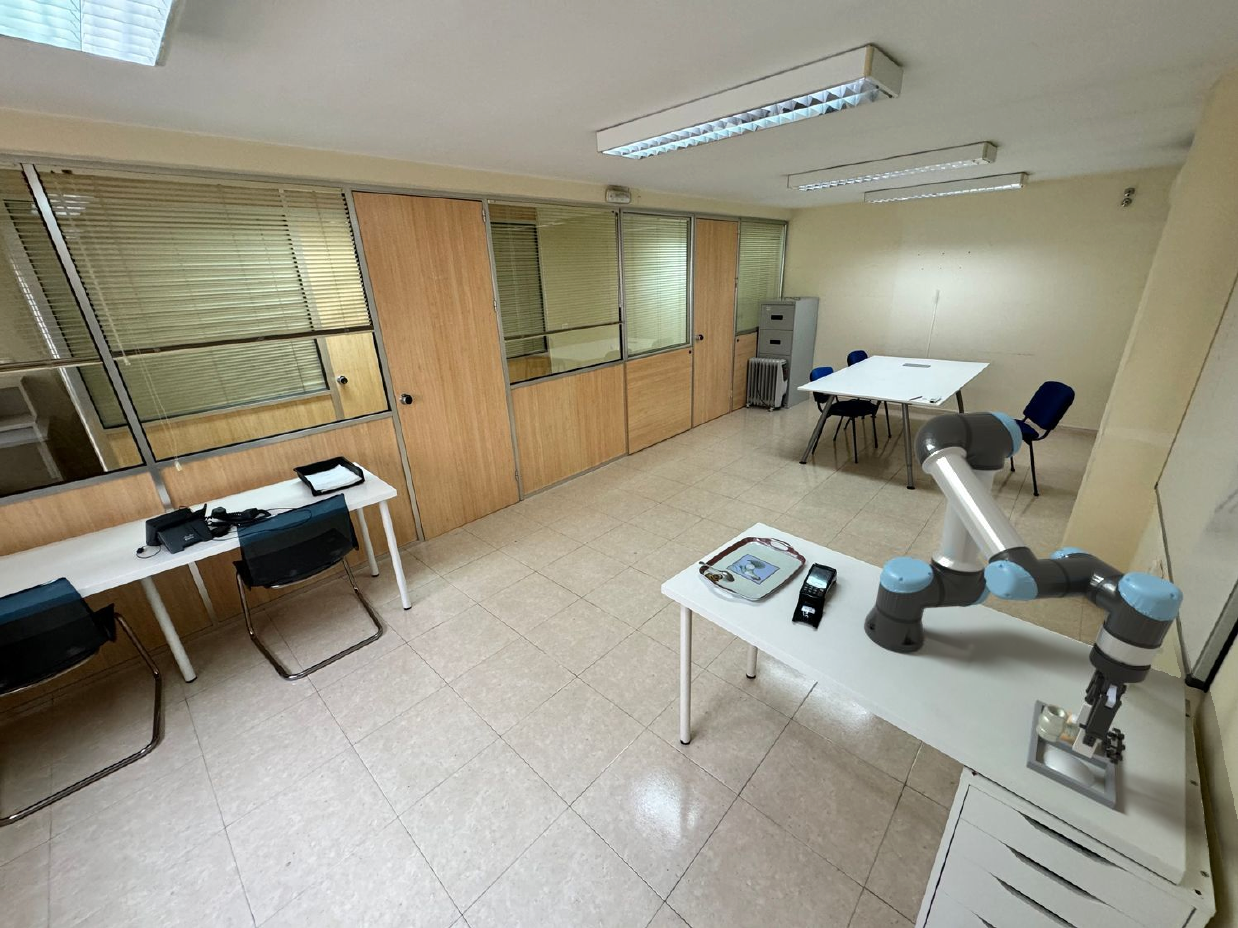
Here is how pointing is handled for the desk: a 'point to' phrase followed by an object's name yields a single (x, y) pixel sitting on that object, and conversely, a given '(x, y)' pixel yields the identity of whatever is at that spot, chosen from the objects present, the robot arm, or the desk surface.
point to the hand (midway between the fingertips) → (1082, 740)
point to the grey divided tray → (1071, 765)
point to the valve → (1076, 732)
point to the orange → (1064, 736)
